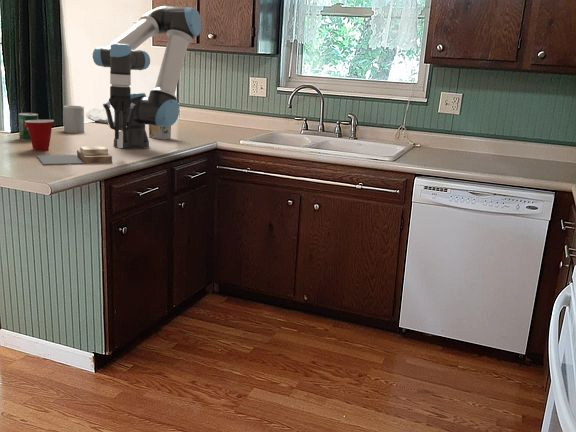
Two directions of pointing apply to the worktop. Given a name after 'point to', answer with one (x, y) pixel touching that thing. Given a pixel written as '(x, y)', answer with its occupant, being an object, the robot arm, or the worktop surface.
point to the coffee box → (159, 132)
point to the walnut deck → (94, 158)
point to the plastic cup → (40, 133)
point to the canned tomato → (25, 125)
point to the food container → (99, 115)
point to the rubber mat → (59, 159)
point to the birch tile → (93, 150)
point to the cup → (74, 119)
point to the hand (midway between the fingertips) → (120, 147)
